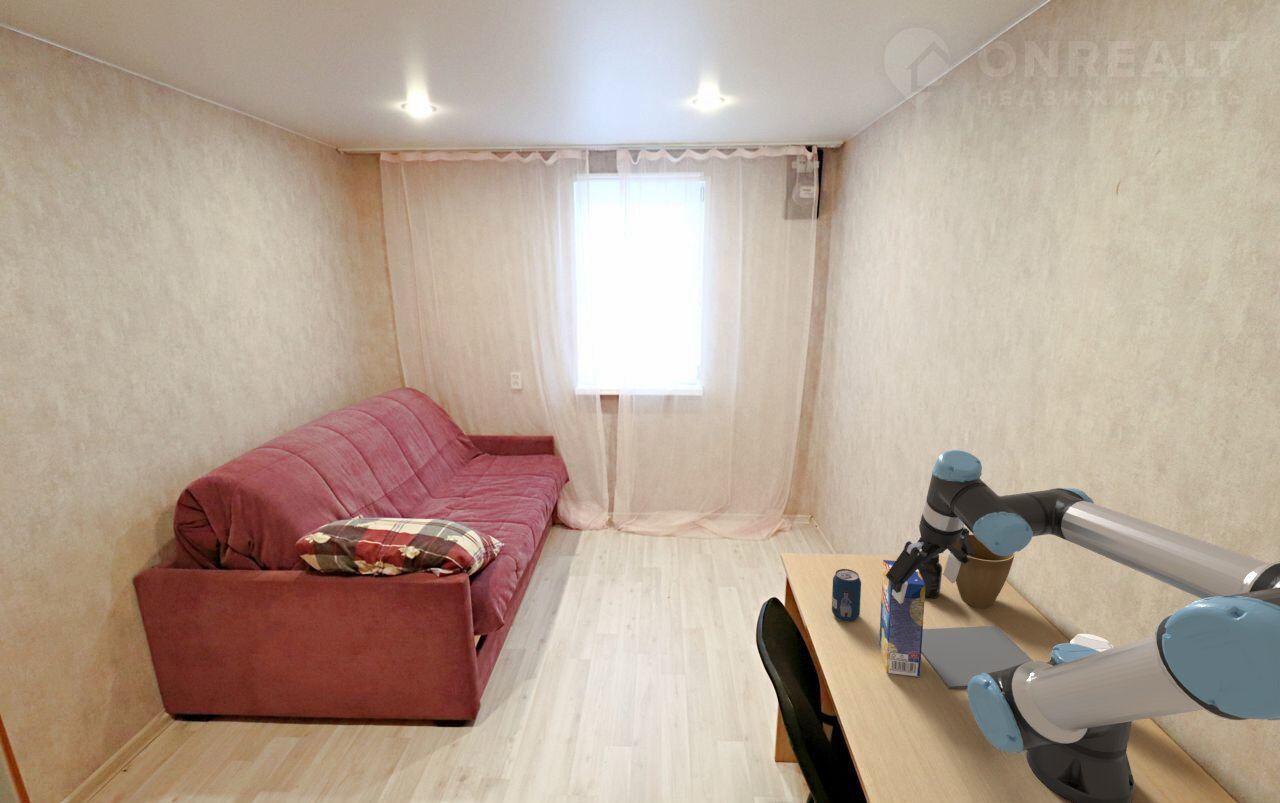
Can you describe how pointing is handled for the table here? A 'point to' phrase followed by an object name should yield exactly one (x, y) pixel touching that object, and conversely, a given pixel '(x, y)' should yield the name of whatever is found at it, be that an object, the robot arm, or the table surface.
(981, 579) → the plant pot
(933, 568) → the supplement bottle
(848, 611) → the soda can
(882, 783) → the table surface
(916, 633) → the beverage box
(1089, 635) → the paper cup
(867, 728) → the table surface
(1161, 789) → the table surface
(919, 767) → the table surface
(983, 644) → the mat
